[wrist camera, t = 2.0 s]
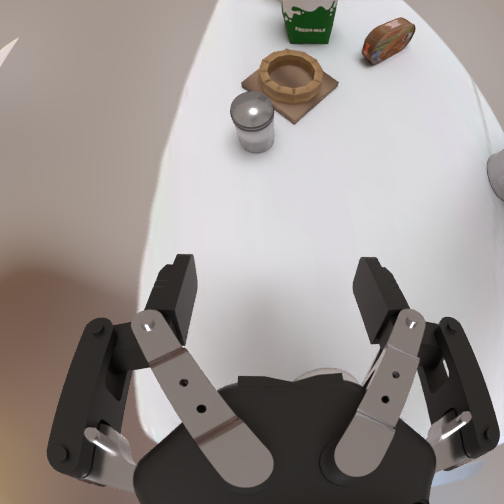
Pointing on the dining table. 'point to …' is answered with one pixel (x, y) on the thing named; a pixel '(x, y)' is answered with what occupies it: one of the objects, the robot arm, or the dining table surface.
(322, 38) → the milk carton
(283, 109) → the ring board
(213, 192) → the dining table surface
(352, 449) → the robot arm
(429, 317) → the dining table surface
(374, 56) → the tin
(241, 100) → the salt shaker
